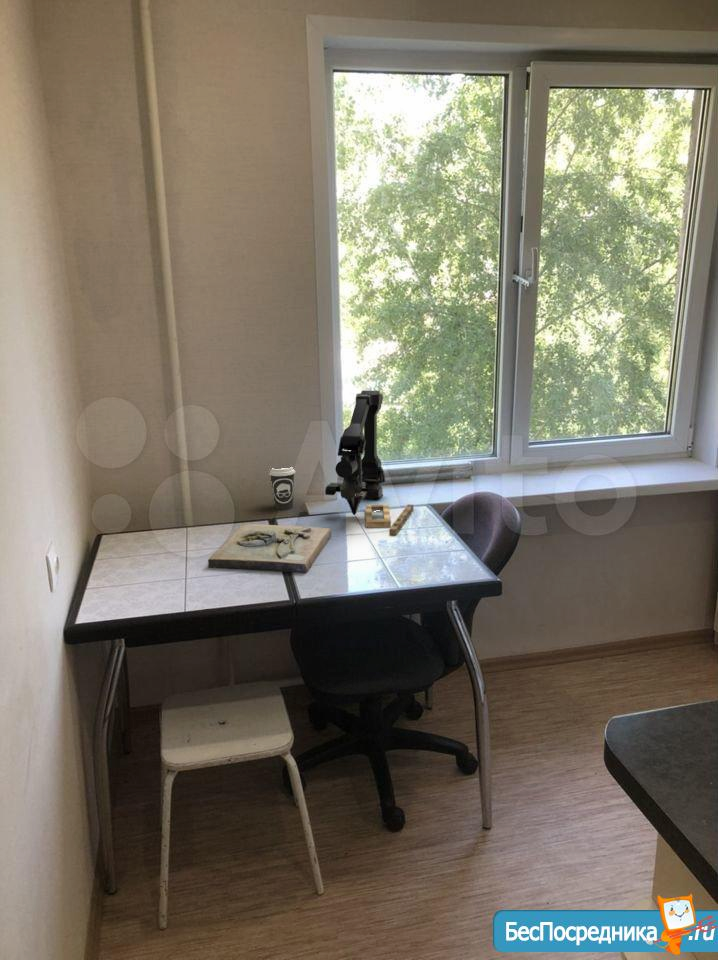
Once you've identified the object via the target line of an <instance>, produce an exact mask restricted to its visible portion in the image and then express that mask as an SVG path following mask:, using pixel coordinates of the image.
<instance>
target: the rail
mask: <svg viewBox="0 0 718 960" xmlns="http://www.w3.org/2000/svg"><path fill="white" fill-rule="evenodd" d="M412 511H414V504H407V505H406V506H405V507H404V509H403V510H402V511H401V513H400V514H399V515H398V516H397V518H396V519H395V521H394V522H393V523H392V525H391V527H389V530H388V531H389V532H388V533H389V534H388V535H389V536H396V535H397V534H398V533H399V531H400V530H401V529H402V527H403V526H404V525H405V523H406V522H407V520H408V519H409V517H410V516H409V515H412V513H413V512H412ZM411 512H412V513H411ZM407 518H408V519H407ZM405 521H406V522H405ZM402 525H403V526H402Z"/></svg>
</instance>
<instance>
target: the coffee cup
mask: <svg viewBox="0 0 718 960" xmlns="http://www.w3.org/2000/svg"><path fill="white" fill-rule="evenodd" d="M293 468H294V466H293V467H290V468H281V469H274V468H272V469H271V471H270V473H269V474H268V475H269V476H270V475H271V480H270V482H271V481H272V486H271V489H272V488H273V493H272V495H273V494H274V500H273V502H274V501H275V506H274V509H275V508H276V509H275V510H277V511H286V510H291V509H293V508H294V488H293V487H294V486H295V483H294V482H295V481H294V480H295V479H294V478H295V474H296V470H294V469H295V468H294V469H293Z"/></svg>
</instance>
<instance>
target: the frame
mask: <svg viewBox="0 0 718 960" xmlns="http://www.w3.org/2000/svg"><path fill="white" fill-rule="evenodd" d="M389 505H390V504H366V505H365V528H366V527H378V528H391V526H392V525H391V523H392V522H391V521H392V520H391V513H390V506H389ZM376 510H380V511H376ZM374 511H376V512H374Z"/></svg>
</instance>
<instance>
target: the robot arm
mask: <svg viewBox="0 0 718 960" xmlns="http://www.w3.org/2000/svg"><path fill="white" fill-rule="evenodd" d="M383 400H384V397H383V393H381V392H380V391H379V390H365V389H364V390H361V392H360V393H359V392H358V393H356V396H355V404H354V408H353V413H352V414H351V415H352V416H351V419H350V422H349V426H347V427H346V428H345V429H344V430H343V433H342V436H340V440H339V446H338V450H337V456H339V457H340V460H339V462H337V464H336V466H335V468H334V469H335V472H336V474H337V476H338V477H340V478H342V479H343V481H342V483H340V482H330V483H329V484H327V485H326V487H325V490H324V492H325V495H326V496H335V495H336V494H337V493H340V496H341V499H345V500H346V501H347V504H348V505H349V507H350V511H351V513H352V515H353V516H354V515H355V516H356V514H357V511H358V509H359V506H360V503H361V501H362V500H370V501H372V500H373V501H374V500H375V501H380V499H382V497H383V496H384V493H383V487H382V486H381V484H383V483H386V474H385V471H384V468H383V467H382V461H381V459H380V458H379V456H378V452H377V450H378V447H377V445H378V441H377V440H378V435H377V434H378V433H377V431H378V421H377V420H378V419H377V418H378V416H377V415H378V414H379V412H380V410H381V409H382V404H383ZM362 456H363V457H362ZM363 486H364V487H363Z"/></svg>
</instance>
